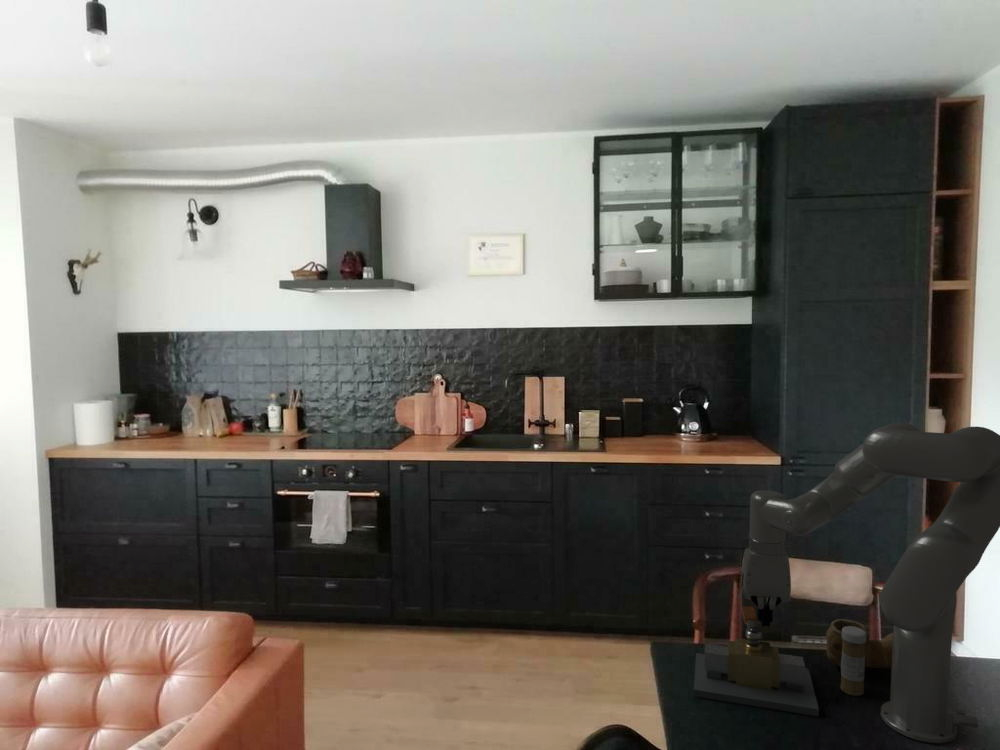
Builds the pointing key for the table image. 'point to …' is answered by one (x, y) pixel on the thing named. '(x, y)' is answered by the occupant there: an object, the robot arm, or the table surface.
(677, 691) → the table surface
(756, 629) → the lever
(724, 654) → the valve
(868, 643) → the pipe
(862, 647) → the sprinkles bottle
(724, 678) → the valve board
